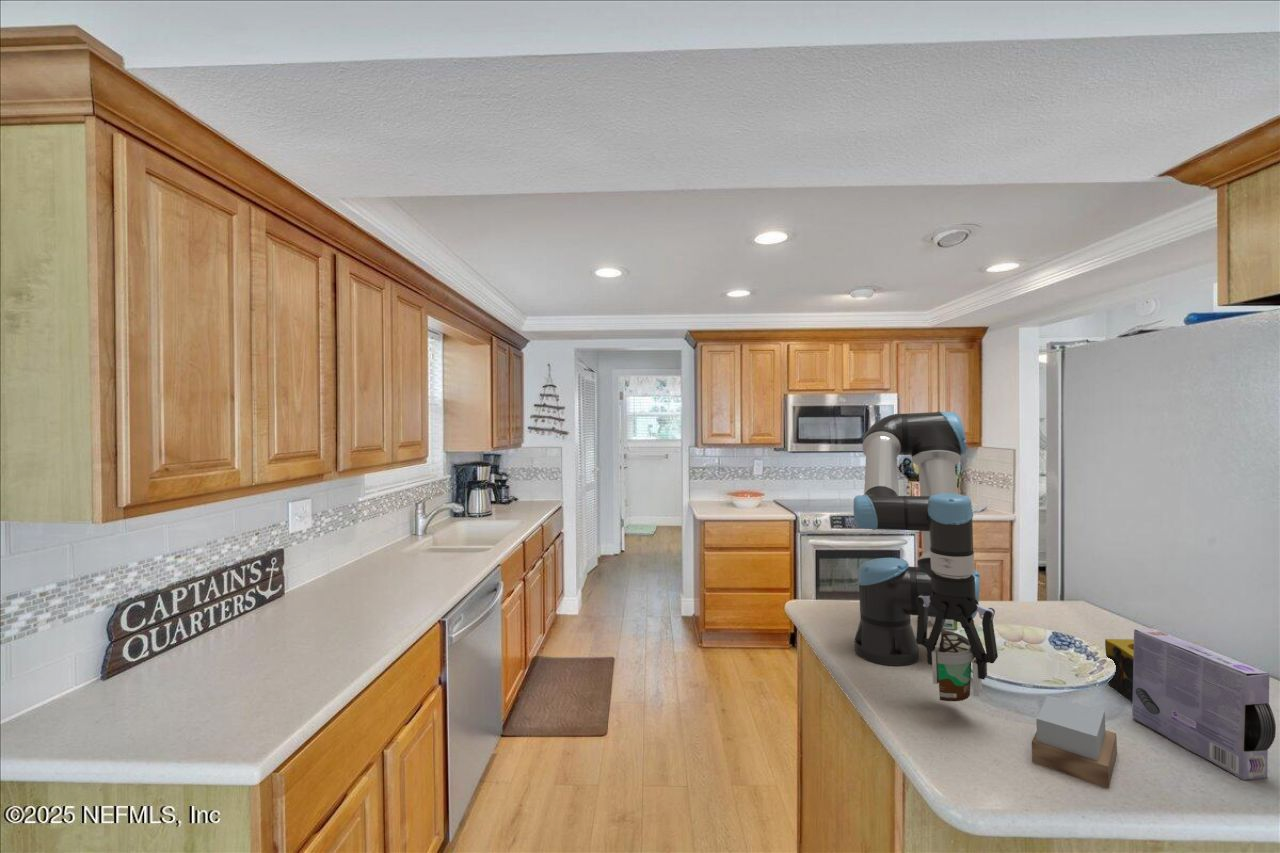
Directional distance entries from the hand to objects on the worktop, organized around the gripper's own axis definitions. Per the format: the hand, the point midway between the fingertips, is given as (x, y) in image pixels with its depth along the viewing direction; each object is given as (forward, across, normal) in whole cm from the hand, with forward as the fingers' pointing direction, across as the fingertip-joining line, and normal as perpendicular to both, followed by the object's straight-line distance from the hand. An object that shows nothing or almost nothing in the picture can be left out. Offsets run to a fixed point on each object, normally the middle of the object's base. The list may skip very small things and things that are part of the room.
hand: (957, 686), depth 108 cm
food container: (+1, 0, 0) cm, 1 cm away
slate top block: (+2, +18, -2) cm, 18 cm away
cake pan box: (+6, +33, +15) cm, 37 cm away
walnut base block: (+6, +18, -1) cm, 20 cm away
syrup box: (+7, -17, +46) cm, 50 cm away
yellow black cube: (+7, +26, +32) cm, 42 cm away
